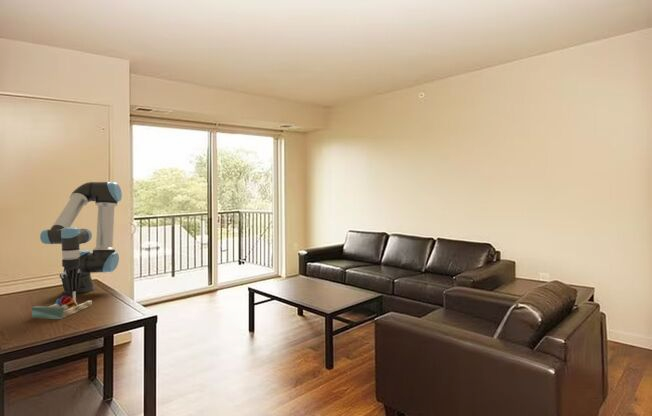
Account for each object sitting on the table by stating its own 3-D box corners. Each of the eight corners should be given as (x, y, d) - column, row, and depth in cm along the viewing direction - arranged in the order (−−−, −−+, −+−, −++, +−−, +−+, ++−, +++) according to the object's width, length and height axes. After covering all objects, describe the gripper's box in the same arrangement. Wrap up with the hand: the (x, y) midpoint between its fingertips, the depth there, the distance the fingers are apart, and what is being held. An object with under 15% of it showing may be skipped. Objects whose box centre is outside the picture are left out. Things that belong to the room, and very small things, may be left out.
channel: (66, 304, 200) (66, 294, 200) (92, 305, 199) (91, 295, 198) (32, 318, 179) (31, 307, 179) (60, 319, 178) (60, 308, 177)
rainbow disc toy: (67, 314, 185) (67, 299, 184) (49, 313, 186) (48, 298, 185) (80, 308, 193) (80, 294, 193) (62, 307, 194) (62, 293, 194)
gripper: (73, 255, 200) (74, 300, 201) (53, 260, 187) (55, 308, 188) (87, 256, 199) (88, 300, 201) (68, 260, 186) (69, 308, 188)
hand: (72, 304), depth 194 cm, fingers closed
